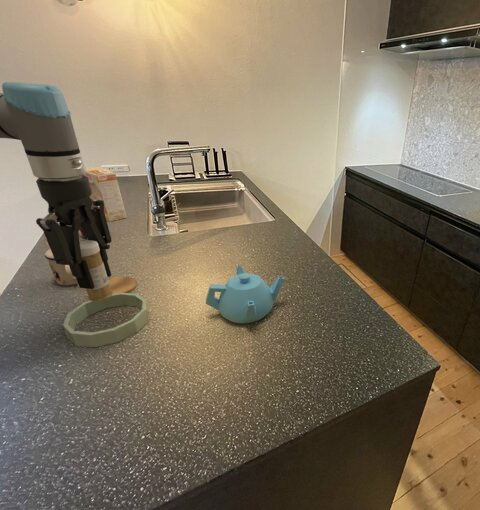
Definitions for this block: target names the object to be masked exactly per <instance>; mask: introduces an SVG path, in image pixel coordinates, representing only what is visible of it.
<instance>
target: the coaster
mask: <svg viewBox="0 0 480 510" xmlns="http://www.w3.org/2000/svg"><path fill="white" fill-rule="evenodd" d="M108 280H109V285H110V288H111V290H112V292H113V293H112V294H116V293H131V292H132V291H134V289H135V288H136V287H137V280H136V279H135V278H133V277H130V276H116V277H111V278H108Z"/></svg>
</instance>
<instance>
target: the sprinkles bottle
mask: <svg viewBox="0 0 480 510" xmlns="http://www.w3.org/2000/svg"><path fill="white" fill-rule="evenodd" d="M79 241H80V250H81V258H82V261H86V263H87V266H88V269H89V272H90V275H91V278H92V281H93V284H94V288H93V289H85V290H86V294H87V298H88V301H90V300H91V301H103V300H106V299H108V298H109V297H111V295H112V293H113V292H112V290H111V288H110V285H109V280H108V279H109V277H107V273H106V270H105V267H104V263H103V261H102V258H101V255H100V248H99V245H98V243H97V242H96V241H93V240H88V239H85V240H79Z"/></svg>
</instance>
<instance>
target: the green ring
mask: <svg viewBox="0 0 480 510" xmlns="http://www.w3.org/2000/svg"><path fill="white" fill-rule="evenodd" d="M121 306H127V307H138V309H140V311H138V312H137V313H136V314H135V316H133V317H132V318H131V319H130V320H128V321H126V322H123V323H121V324H119V325H117V326H115V327H113V328H108V329H103V330H98V331H93V332H90V331H78V330H76V327H77V326H78V325H79V324H80V323H82V322H83V321H84V320H85V319H86V318H89V316H91V315H94V314H96V313H99V312H101V311H104V310H106V309H110V308H115V307H116V308H117V307H121ZM149 319H150V309H149V305H148V301H147V299H146V298H144V297H142V295H140V294H139V293H131V292H129V293H116V294H112V295H111V297H109V298H108V299H106V300H103V301H91V300H88V301H85V302H82V303H81V304H79V305H78V306H77V307H75V308H73V309H72V310H71V311H70V312H68V313H67V314H66V316H65V318H64V321H63V324H62V327H63V329H64V332H65V334H66V337H67V338H68V340H70V341H71V342H72V343H73V344H74V345H75V346H76V347H86V348H87V347H88V348H99V347H103V346H107V345H113V344H115V343H119V342H121V341H123V340H125V339H127V338H129V337H131V336H133V335H135V334H137V333H138V332H139V331H140V330H142V329H143V327H144V326H145V325H146V324H147V323H148V322H149Z"/></svg>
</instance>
